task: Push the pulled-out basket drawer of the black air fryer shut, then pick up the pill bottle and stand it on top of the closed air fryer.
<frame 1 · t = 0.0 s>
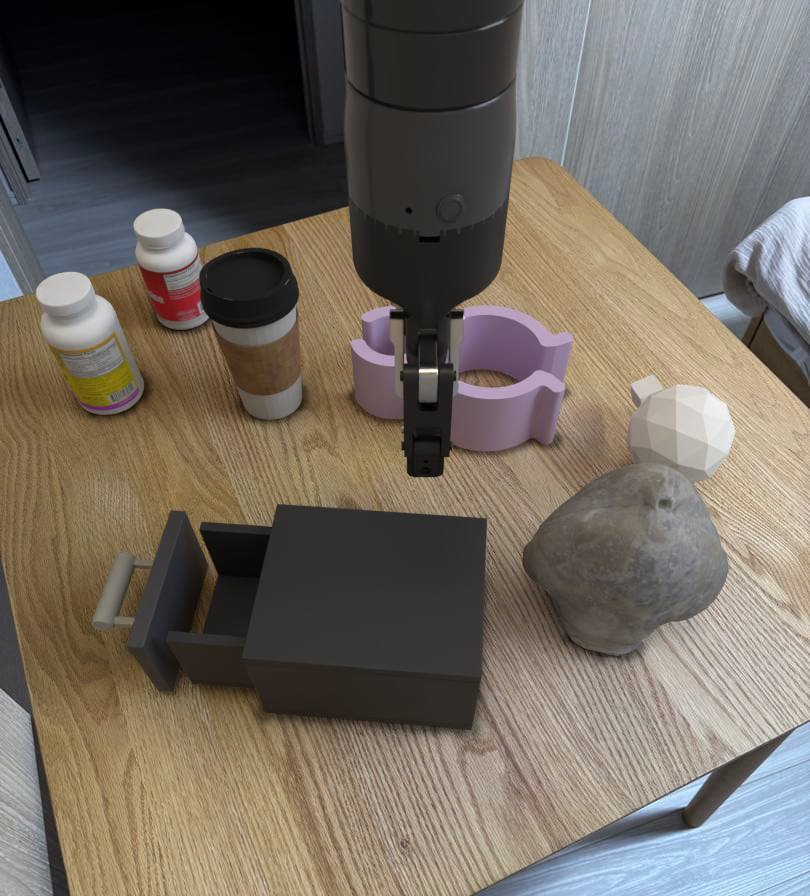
hand: (424, 420, 48), 19 cm above the table, tool pointing down, fingers open, 8 cm apart
coffee cup: (273, 400, 75), on the table
knife: (414, 288, 85), on the table
pill bottle: (186, 314, 83), on the table
air fryer: (377, 645, 60), on the table
air fryer basket: (230, 605, 56), point 5 cm above the table, slide at 7.0 cm
decorative stone: (605, 602, 62), on the table
supplement bottle: (113, 395, 76), on the table
perfume bottle: (664, 456, 71), on the table
clip: (457, 400, 75), on the table
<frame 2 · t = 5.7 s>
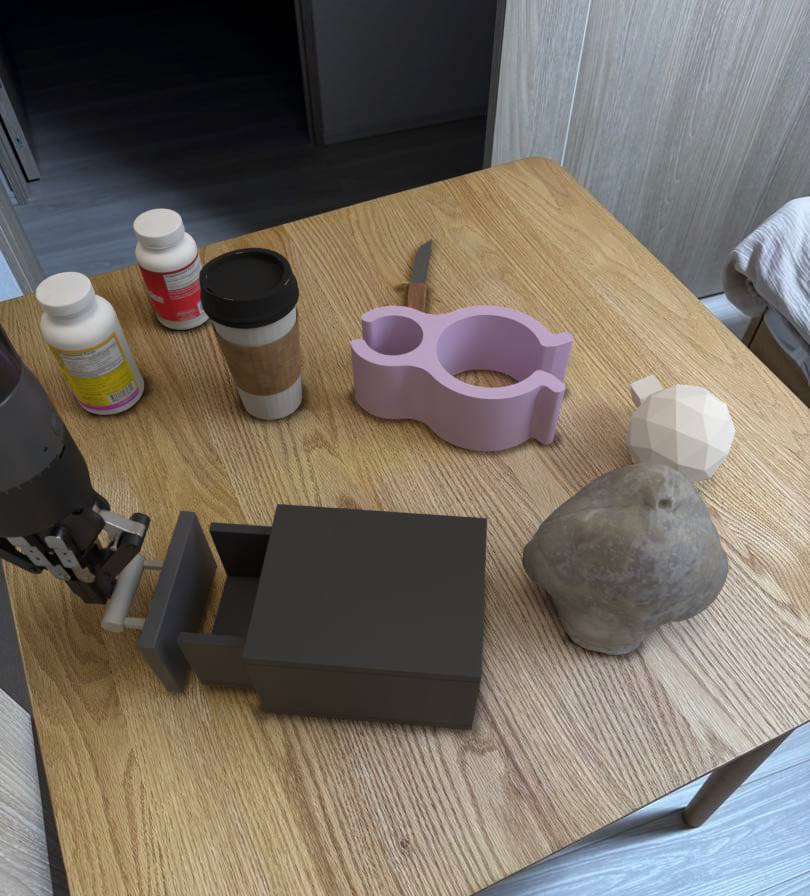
hand: (100, 593, 57), 5 cm above the table, tool pointing down, fingers closed
air fryer basket: (240, 606, 56), point 5 cm above the table, slide at 6.2 cm, touching gripper
everything else where it was.
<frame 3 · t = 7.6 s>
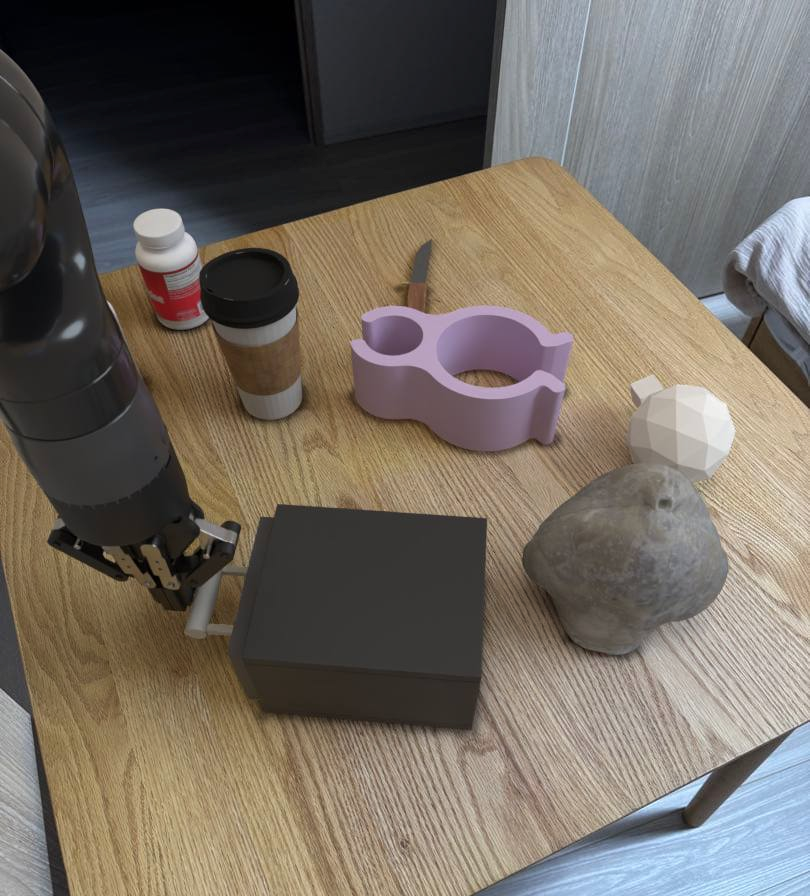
hand: (179, 600, 56), 5 cm above the table, tool pointing down, fingers closed
air fryer basket: (321, 612, 56), point 5 cm above the table, slide at 0.1 cm, touching gripper
everything else where it was.
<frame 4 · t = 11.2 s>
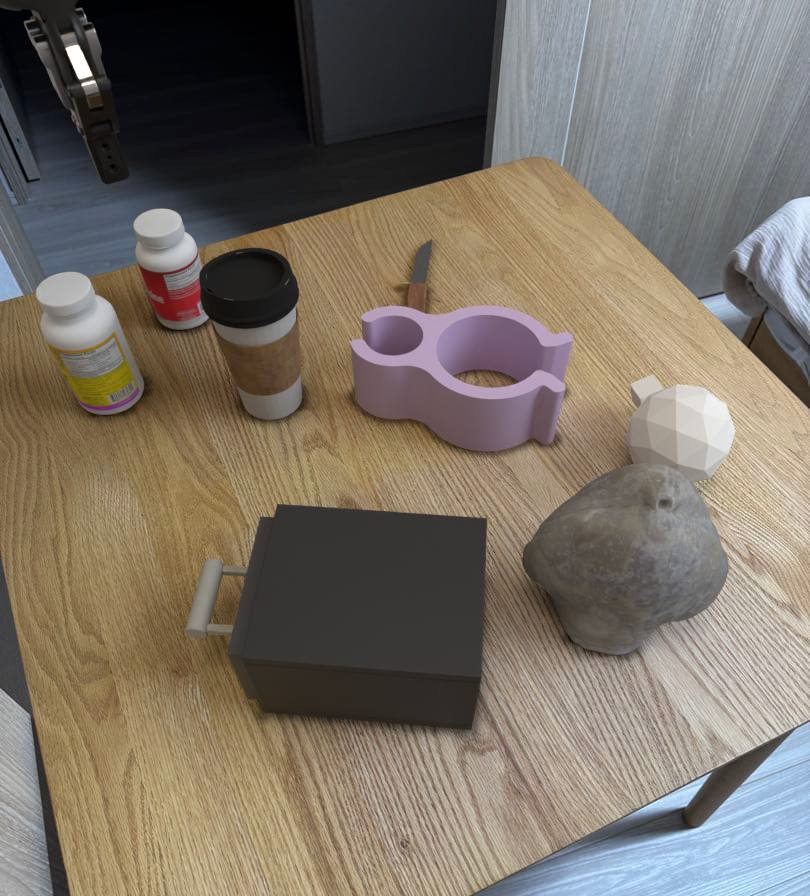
hand: (114, 176, 58), 22 cm above the table, tool pointing down, fingers closed
air fryer basket: (321, 612, 56), point 5 cm above the table, slide at 0.1 cm
everything else where it was.
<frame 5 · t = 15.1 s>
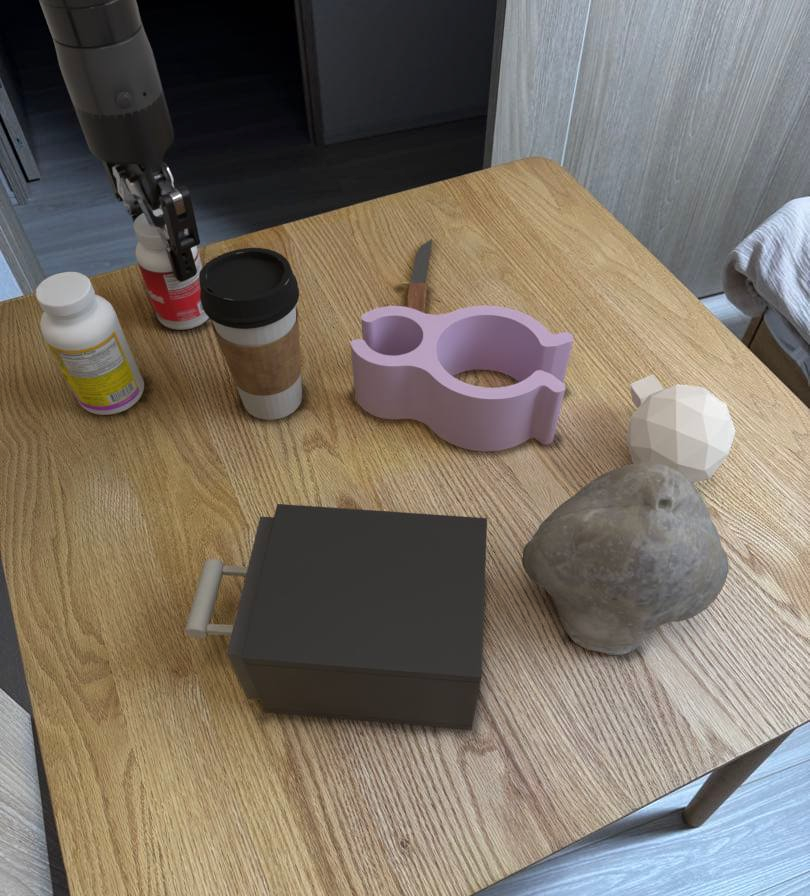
hand: (169, 260, 77), 7 cm above the table, tool pointing down, fingers closed on pill bottle, 6 cm apart
pill bottle: (186, 314, 83), on the table, touching gripper
everything else where it was.
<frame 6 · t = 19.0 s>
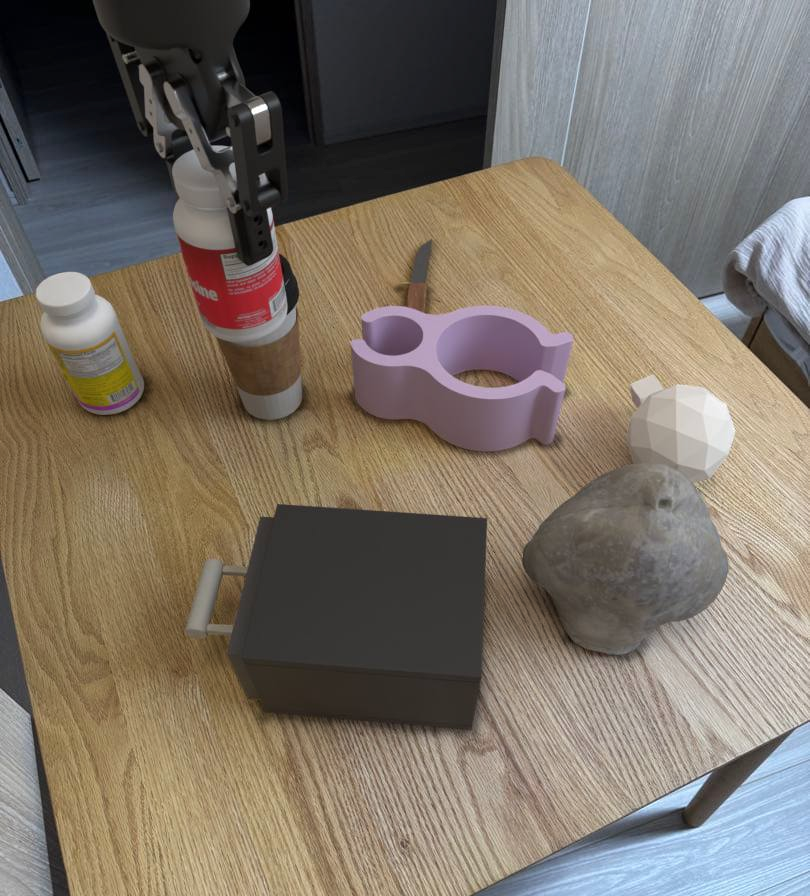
hand: (226, 233, 48), 26 cm above the table, tool pointing down, fingers closed on pill bottle, 6 cm apart
pill bottle: (246, 318, 54), point 19 cm above the table, touching gripper
everything else where it was.
when the fingers open (16 cm above the table, at t = 23.1 s): pill bottle stays where it is, resting on air fryer.
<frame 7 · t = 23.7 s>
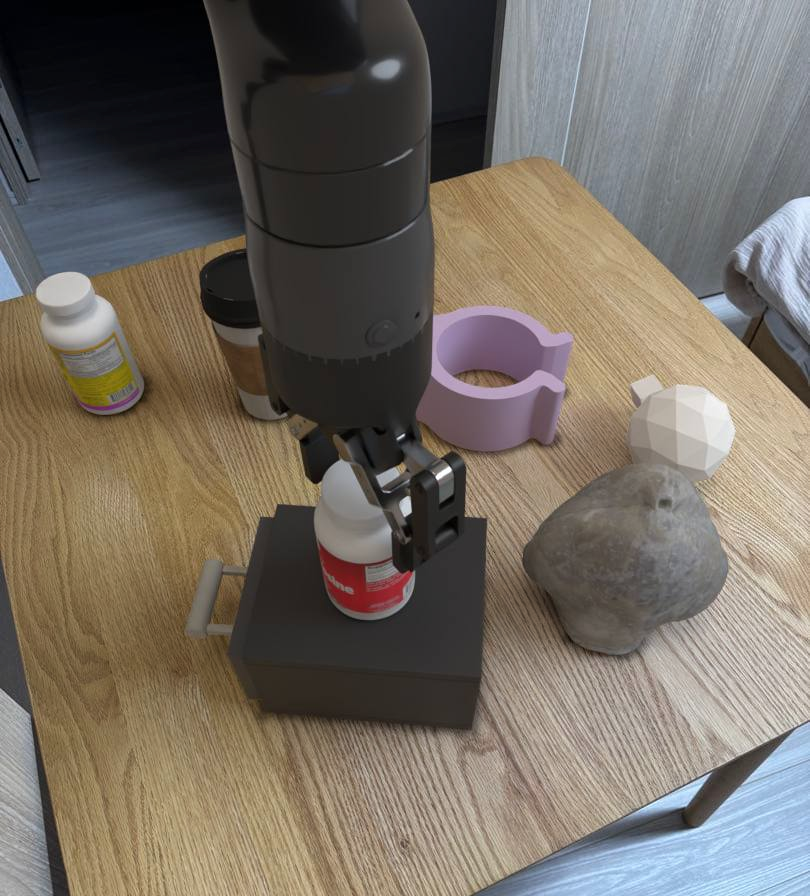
hand: (365, 516, 45), 18 cm above the table, tool pointing down, fingers open, 8 cm apart
pill bottle: (370, 585, 52), point 9 cm above the table, touching air fryer
everything else where it was.
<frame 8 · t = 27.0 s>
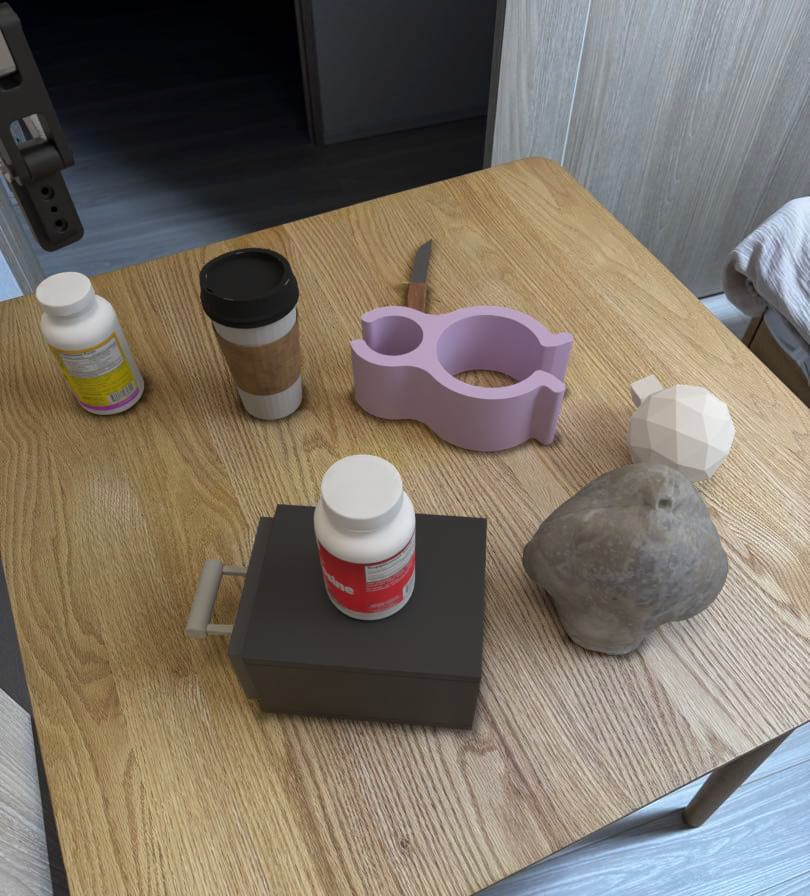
hand: (26, 204, 38), 32 cm above the table, tool pointing down, fingers open, 8 cm apart
nothing on the table moved.
at the end: air fryer basket slide at 0.1 cm; pill bottle inside the target area on the air fryer (0.1 cm from its centre), point 9.4 cm above the air fryer's base; pill bottle tilted 0° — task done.
